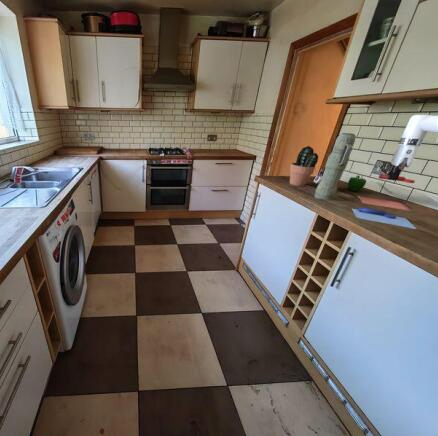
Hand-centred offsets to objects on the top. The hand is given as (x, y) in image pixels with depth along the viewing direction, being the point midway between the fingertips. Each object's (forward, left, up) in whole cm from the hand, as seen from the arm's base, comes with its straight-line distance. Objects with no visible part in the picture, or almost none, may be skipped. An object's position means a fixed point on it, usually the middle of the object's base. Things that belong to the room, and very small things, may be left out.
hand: (391, 179), depth 118 cm
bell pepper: (+8, -23, -14) cm, 28 cm away
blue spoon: (+6, +22, -13) cm, 26 cm away
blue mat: (+5, +26, -14) cm, 30 cm away
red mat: (-2, -2, -14) cm, 14 cm away
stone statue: (+26, +7, -14) cm, 30 cm away
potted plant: (+39, -17, -14) cm, 44 cm away
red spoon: (-2, 0, 0) cm, 2 cm away
